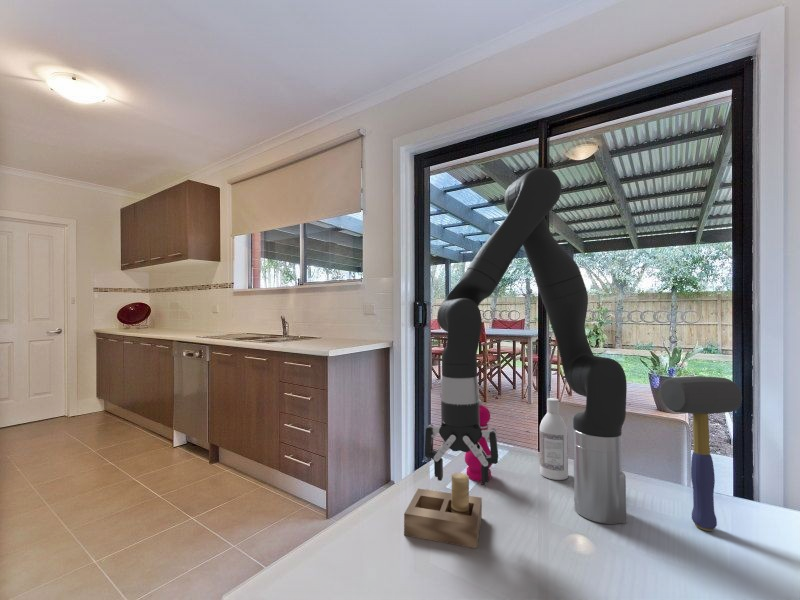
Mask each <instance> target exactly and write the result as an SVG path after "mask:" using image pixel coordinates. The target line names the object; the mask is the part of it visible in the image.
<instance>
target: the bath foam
mask: <svg viewBox="0 0 800 600" xmlns="http://www.w3.org/2000/svg"><path fill="white" fill-rule="evenodd" d="M546 407H547V412H546V414H545V415H544V416H543V418H542V419H541V422H540V424H539V434H538V435H539V473H540V475H542V476H543V477H545V478H547V479H550V480H553V481H554V480H555V481H564V480H566V479H567V478H568V477H569V445H568V444H569V443H568V442H569V440H568V439H569V438H568V437H569V435H568V434H569V433H568V427H567V425H566V422H565V421H564V419H563V416H562V415H561V414H560V399H558V398H556V397H554V398H553V397H548V398H547V399H546Z"/></svg>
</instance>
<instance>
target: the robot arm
mask: <svg viewBox="0 0 800 600" xmlns="http://www.w3.org/2000/svg"><path fill="white" fill-rule="evenodd" d="M504 193H505V194H504V204H505V209H506V211H507V216H506V217H505V219H504V220H503V221H502V223H500V225H499V226H498V227H497V229H495V231H494V232H493V233H492V234H491V235H490V237H489V238H488V239H487V240H486V241H485V242H484V244H483V245H482V246H481V248H479V250H478V251H477V253H476V254H475V255H474V257H473V259H472V261H471V262H470V264H469V266H468V267H467V268H466V270H465V272H464V273H463V276H462V278H461V279H460V280H459V281H458V282H457V284H455V286H454V287H453V288H452V289H451V290H450V292H449V293H448V294H447V295H446V297H445V298H444V299H443V301H442V302H441V304H440V306H439V308H438V310H437V313H436V314H437V315H436V317H437V318H436V319H437V323H438V325H439V327H440V328H441V330H443V331H445V332H446V333H447V340H446V346H445V347H444V348H443V350H442V353H441V384H440V403H441V404H440V405H441V406H440V411H441V413H440V414H441V416H440V417H441V420H440V421H441V422H440V423H441V425H440V426H434V425H433V424H432V423H430V424H428V425H427V426H426V429H425V434H424V435H425V437H424V438H425V439H424V441H425V442H424V456H425V457H426V458H430V459H431V460H432V461H434V462H433V463H434V464H433V465H434V467H433V468H434V469H433V470H434V473H433V474H434V477H435V478H437V481H439V482H440V481H441V482H442V481H443V477H444V464H443V463H444V462H443V461H444V460H443V459H444V458H442V457H443V456H444V455H445V454H446V452H447V451H448V450H449V449H450V450H452V452H462V453H466V452H469V451H472V452H473V454H474V455H475V456H476V457H477V458H478V459H479V461H480V462H481V481H480V482H481V486H484V487H485V486H486V484H487V483H489V481H490V479H489V469H490V468H489V465H490V464H492V465H497V464H498V462H499V451H498V438H497V437H498V436H497V430H496V428H491V429H490V430H489V429H488V430H481V428H480V418H479V399H480V391H479V390H480V387H479V380H478V359H477V354H478V350H479V345H480V339H481V333H482V327H483V325H482V324H483V323H482V314H481V310H480V307H479V305H480V304H481V303H482V302H483V301H484V300H485V299H488V298H489V297H490V296H491V295H492V294H494V292H495V290H496V288H497V287H498V285H499V284H500V282H501V280H502V279H503V277H504V275H505V274H506V272H507V271H508V268H509V267H510V266H511V263H512V262H513V260H514V259H515V257H516V256H517V254H518V253H519V251H520V249H521V248H522V247H523V248H524V251H525V254H526V257H527V258H526V259H527V260H528V263H529V266H530V268H531V271H532V273H533V276H534V279H535V283H536V287H537V289H538V292H539V295H540V299H541V302H542V304H543V306H544V309H545V311H546V314H547V316H548V320H549V323H550V326H551V330H552V332H553V335H554V339H555V341H556V344H557V349H558V353H559V357H560V362H561V367H562V371H563V374H564V378H565V380H566V383H567V385H568V386H569V388H570V389H571V390H572V391H573V392H574V393H575V394H578V395H579V396H583V397H586V398H585V399H586V401H585V402H586V403H585V409H584V411H583V412H578V413H576V414H574V416H573V420H572V421H573V423H572V424H573V425H572V428H573V432H572V434H573V436H572V437H573V438H572V439H573V490H574V491H573V493H574V494H573V496H574V497H573V501H574V504H573V505H574V511H575V512H576V513H577V514H579V515H580V516H581V517H583V518H585V519H587V520H590V521H593V522H595V523H600V524H607V525H608V524H609V525H612V524H619V523H620V524H621V523H623V524H626V523H628V522H627V489H626V488H627V485H626V482H627V481H626V480H627V479H626V474H625V473H624V472H623V442H622V439H623V437H622V428H623V425H624V422H625V420H626V415H627V414H626V413H627V394H628V393H627V390H628V388H627V387H628V385H627V384H628V383H627V377H626V376H627V375H626V373H625V370H624V368H623V366H622V365H621V364H620V363H619V362H618V360H615V359H613V358H609V357H603V356H597V355H595V354H594V353H593V351H592V348H591V347H590V343H589V340H588V338H587V334H586V321H587V320H586V319H587V314H588V313H587V312H588V307H589V306H588V305H589V295H588V290H587V287H586V284H585V282H584V279H583V276H582V273H581V270H580V268H579V266H578V264H577V263H576V261H575V260H574V258H573V257H572V256H571V255H570V254H569V253H568V252H567V251H566V249H564V248H563V247H562V245H560V244H559V242H558V241H557V240H556V239H555V237H554V236H553V234H552V233H551V229H550V228H549V225H548V222H547V219H546V216H547V215H548V214H549V212H551V210H552V209H553V208H554V206H556V204H557V203H558V201H559V200H560V198H561V197H560V196H561V194H562V183H561V179H560V178H559V176H558V175H557V174H556V172H555V171H553V170H552V169H549V168H547V167H537V168H534V169H531V170H529V171H527V172H525V173H524V174H523V175H521V176H520V177H518V178H517V179H516V180H515V181H513V182H512V183H511V184H510V185H509V186H508V187H507V189H506V190H505V192H504ZM438 434H439V436H440V437H441V439H442V440H443V443H442V444H441V446H440V447H439V448H438V450H435V449H434V438H436V437H437V435H438ZM482 436H483V437H485V439H486V441H487V443H489V449H490V451H491V455H489V456H487V455H486V453H485V452H484V451H483V448H482V447H481V445H480V444H479V443H478V442H479V440H480V439H481V437H482Z"/></svg>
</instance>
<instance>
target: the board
mask: <svg viewBox="0 0 800 600" xmlns="http://www.w3.org/2000/svg"><path fill="white" fill-rule="evenodd" d="M482 499H483V498H482V497H479V496H473V495H469V515H462V514H456V513H451V492H445V491H437V490H432V489H431V490H430V489H424V488H417V490H416V491H415V494H414V495H413V497H412V499H411V500H410V502H409V504H408V506H407V508H406V509H405V511H404V514H403V515H404V516H403V535H404V536H407V537H411V538H412V537H413V538H418V539H424V540H430V541H433V542H439V543H446V544H452V545H456V546H463V547H466V548H473V549H478V544H479V537H480V530H481V523H482V517H483V516H482V515H483V514H482V511H483V509H482V507H483V506H482V504H483V501H482Z"/></svg>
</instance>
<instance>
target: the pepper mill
mask: <svg viewBox="0 0 800 600" xmlns="http://www.w3.org/2000/svg"><path fill="white" fill-rule="evenodd" d="M479 418H480V428H481V430H489V422H490V420H491V412H490V410H489V409H488V407H486V406H485V405H483V401H482V400H481V399H480V398H479ZM478 443H479V444H480V445H481V447H482V448H483V451H484V452H485V453H486V455H487V456H489V455H491V450H490V446H489V445H488V442H487V441H486V439H485V437H483V436H482V437H481V439H480V440H479V442H478ZM464 455H465V456H464V462H465V464H466V465H467V467H466V475H468V476H469V480H472V481H474V482H481V462H480V461H479V459H478V458H477V457H476V456H475V455H474V454H473V452H472V451H469V452H465V454H464ZM492 466H493V464H490V465H489V480H491V479H490V478H492V470H491V469H490V468H491V467H492Z"/></svg>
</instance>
